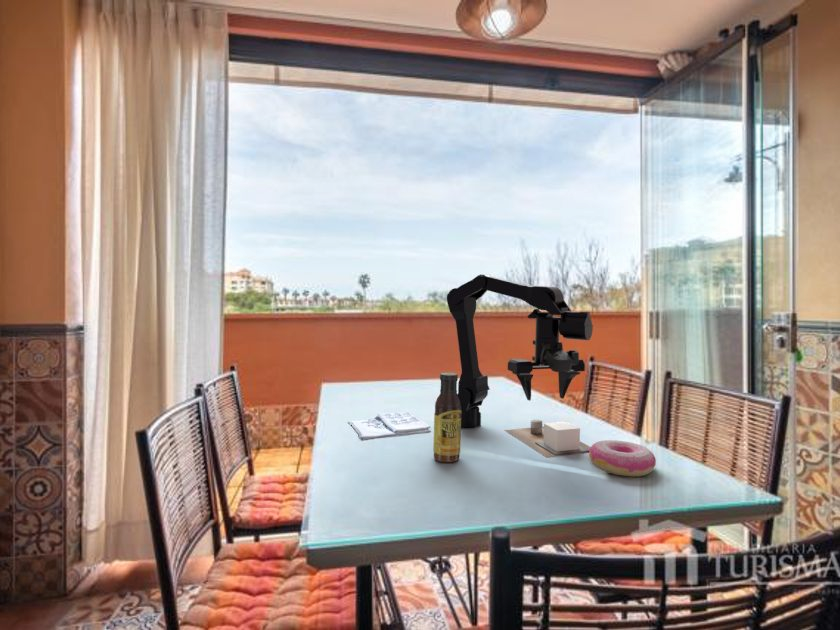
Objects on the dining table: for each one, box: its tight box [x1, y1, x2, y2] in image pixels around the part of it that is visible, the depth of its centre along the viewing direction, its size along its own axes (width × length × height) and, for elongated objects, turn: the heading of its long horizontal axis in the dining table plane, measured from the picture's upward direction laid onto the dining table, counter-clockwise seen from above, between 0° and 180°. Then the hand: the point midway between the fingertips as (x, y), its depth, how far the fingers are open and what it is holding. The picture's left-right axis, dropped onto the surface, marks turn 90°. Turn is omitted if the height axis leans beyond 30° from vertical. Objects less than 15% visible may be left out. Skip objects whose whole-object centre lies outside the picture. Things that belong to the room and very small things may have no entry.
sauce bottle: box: [433, 372, 462, 463], centre depth 110 cm, size 7×6×20 cm
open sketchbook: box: [347, 411, 431, 440], centre depth 137 cm, size 19×20×2 cm
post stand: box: [503, 419, 591, 458], centre depth 121 cm, size 14×22×4 cm, turn 16°
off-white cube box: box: [543, 421, 581, 451], centre depth 115 cm, size 6×6×5 cm
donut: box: [588, 439, 657, 478], centre depth 104 cm, size 14×13×5 cm
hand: (545, 399), depth 120 cm, fingers open, 9 cm apart
